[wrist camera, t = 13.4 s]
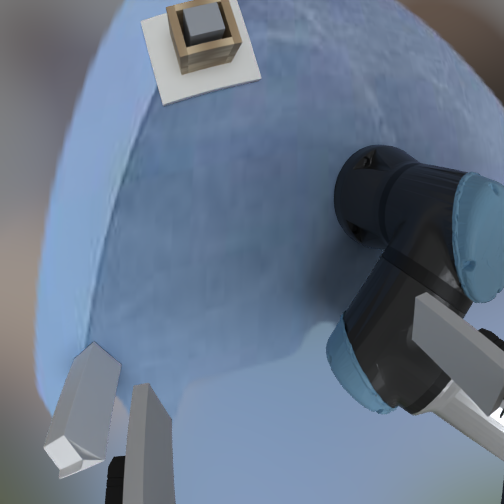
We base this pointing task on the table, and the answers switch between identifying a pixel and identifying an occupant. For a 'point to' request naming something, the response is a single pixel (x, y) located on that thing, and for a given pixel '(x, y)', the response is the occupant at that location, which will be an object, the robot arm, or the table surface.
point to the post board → (200, 77)
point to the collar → (208, 51)
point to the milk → (84, 412)
